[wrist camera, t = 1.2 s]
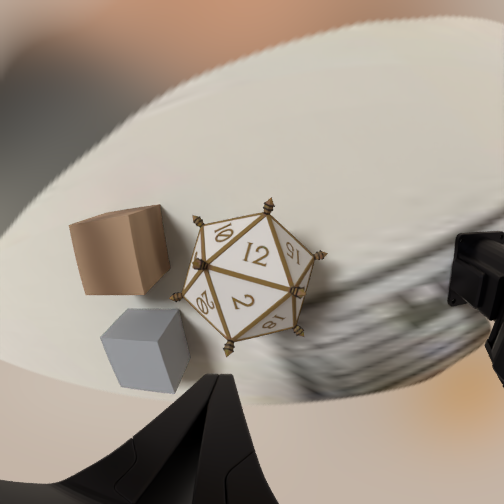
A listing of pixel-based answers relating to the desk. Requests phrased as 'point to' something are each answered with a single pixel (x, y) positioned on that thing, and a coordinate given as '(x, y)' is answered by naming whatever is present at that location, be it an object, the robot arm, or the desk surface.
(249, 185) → the desk surface
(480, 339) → the desk surface
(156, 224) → the walnut block
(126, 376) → the slate block
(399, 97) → the desk surface
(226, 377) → the robot arm
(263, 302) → the game die
